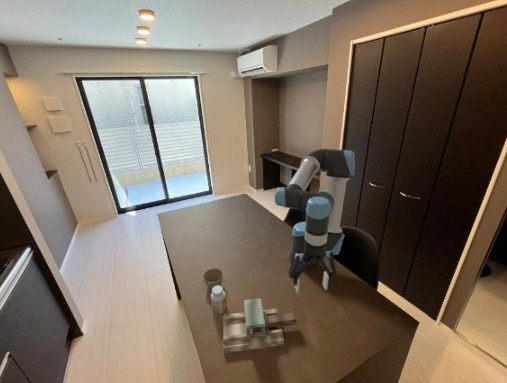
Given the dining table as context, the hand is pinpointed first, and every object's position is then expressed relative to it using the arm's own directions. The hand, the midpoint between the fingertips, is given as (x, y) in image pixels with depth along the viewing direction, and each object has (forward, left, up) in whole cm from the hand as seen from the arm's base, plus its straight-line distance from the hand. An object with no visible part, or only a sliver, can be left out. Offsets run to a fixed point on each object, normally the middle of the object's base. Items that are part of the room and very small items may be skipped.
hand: (310, 288), depth 87 cm
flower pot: (+40, -27, -20) cm, 52 cm away
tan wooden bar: (+14, 0, -17) cm, 22 cm away
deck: (+23, 0, -20) cm, 31 cm away
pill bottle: (+37, -13, -20) cm, 44 cm away
